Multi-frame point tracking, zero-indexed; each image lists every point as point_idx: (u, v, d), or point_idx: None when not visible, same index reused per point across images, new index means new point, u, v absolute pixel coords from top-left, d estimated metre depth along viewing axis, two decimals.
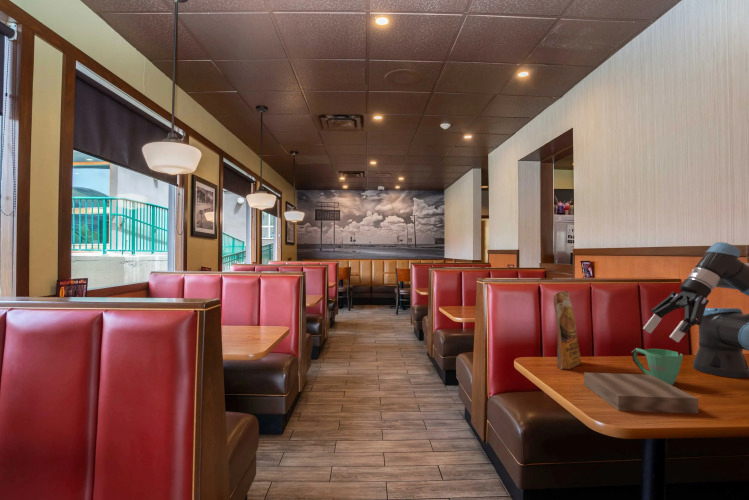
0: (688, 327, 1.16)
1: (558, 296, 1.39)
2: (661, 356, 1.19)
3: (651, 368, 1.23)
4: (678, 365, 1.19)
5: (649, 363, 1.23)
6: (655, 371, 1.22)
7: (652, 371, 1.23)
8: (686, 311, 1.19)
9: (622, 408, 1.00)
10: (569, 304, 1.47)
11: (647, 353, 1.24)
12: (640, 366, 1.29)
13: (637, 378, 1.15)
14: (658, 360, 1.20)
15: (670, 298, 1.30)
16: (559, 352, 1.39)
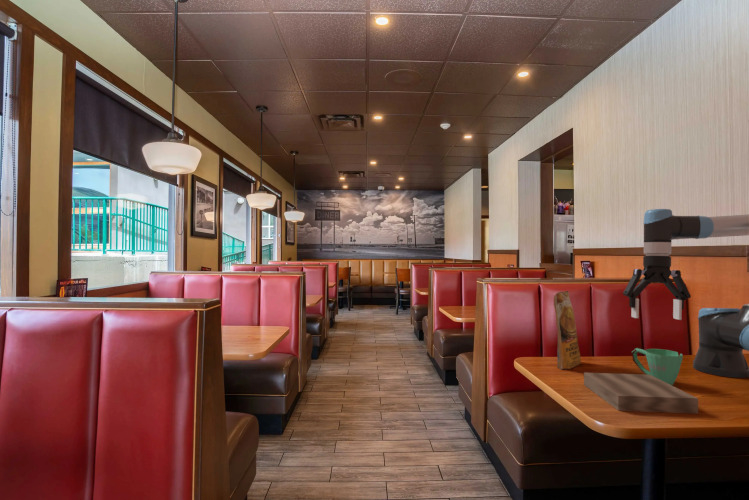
0: (630, 301, 1.26)
1: (558, 296, 1.39)
2: (661, 356, 1.19)
3: (651, 368, 1.23)
4: (678, 365, 1.19)
5: (649, 363, 1.23)
6: (655, 371, 1.22)
7: (652, 371, 1.23)
8: None
9: (622, 408, 1.00)
10: (569, 304, 1.47)
11: (647, 353, 1.24)
12: (640, 366, 1.29)
13: (637, 378, 1.15)
14: (658, 360, 1.20)
15: (673, 277, 1.26)
16: (559, 352, 1.39)
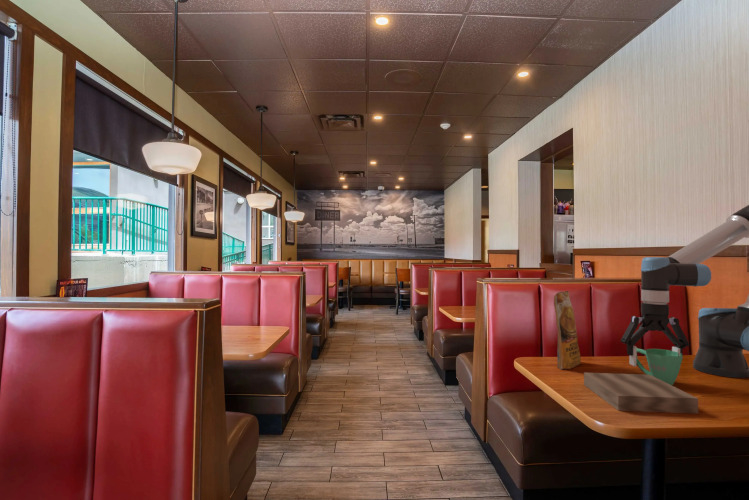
0: (628, 349, 1.26)
1: (558, 296, 1.39)
2: (661, 356, 1.19)
3: (651, 368, 1.23)
4: (678, 365, 1.19)
5: (649, 363, 1.23)
6: (655, 371, 1.22)
7: (652, 371, 1.23)
8: None
9: (622, 408, 1.00)
10: (569, 304, 1.47)
11: (647, 353, 1.24)
12: (640, 366, 1.29)
13: (637, 378, 1.15)
14: (658, 360, 1.20)
15: (671, 325, 1.26)
16: (559, 352, 1.39)
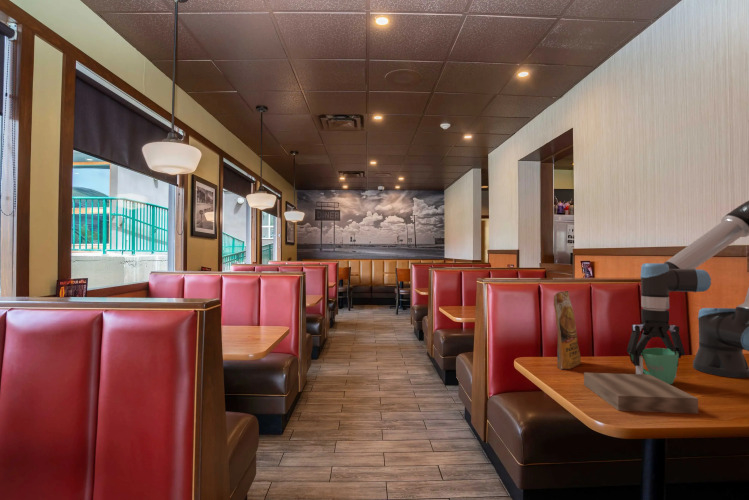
0: (634, 359, 1.25)
1: (558, 296, 1.39)
2: (657, 356, 1.20)
3: (649, 368, 1.23)
4: (675, 363, 1.19)
5: (647, 364, 1.24)
6: (654, 371, 1.22)
7: (651, 371, 1.23)
8: None
9: (622, 408, 1.00)
10: (569, 304, 1.47)
11: (643, 354, 1.24)
12: None
13: (637, 378, 1.15)
14: (654, 360, 1.20)
15: (671, 332, 1.25)
16: (559, 352, 1.39)
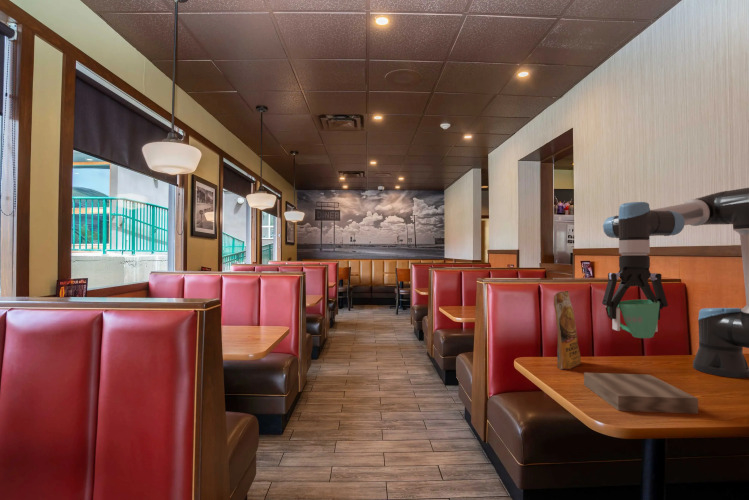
0: (611, 311, 1.11)
1: (558, 296, 1.39)
2: (635, 305, 1.05)
3: (627, 321, 1.08)
4: (655, 313, 1.04)
5: (624, 316, 1.09)
6: (631, 323, 1.07)
7: (628, 324, 1.08)
8: None
9: (622, 408, 1.00)
10: (569, 304, 1.47)
11: (620, 305, 1.09)
12: None
13: (637, 378, 1.15)
14: (632, 310, 1.06)
15: (652, 281, 1.11)
16: (559, 352, 1.39)
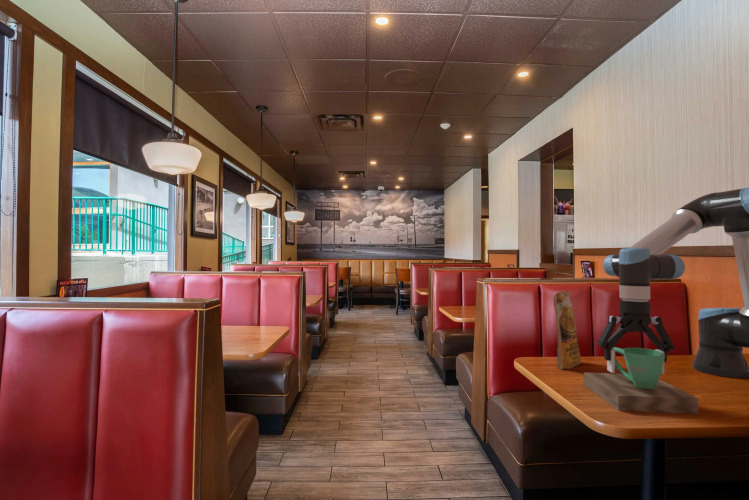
0: (605, 353, 1.10)
1: (558, 296, 1.39)
2: (640, 355, 1.04)
3: (629, 369, 1.08)
4: (659, 366, 1.04)
5: (627, 364, 1.08)
6: (634, 373, 1.07)
7: (631, 373, 1.08)
8: None
9: (622, 408, 1.00)
10: (569, 304, 1.47)
11: (625, 352, 1.09)
12: (618, 367, 1.14)
13: None
14: (636, 360, 1.05)
15: (654, 325, 1.10)
16: (559, 352, 1.39)
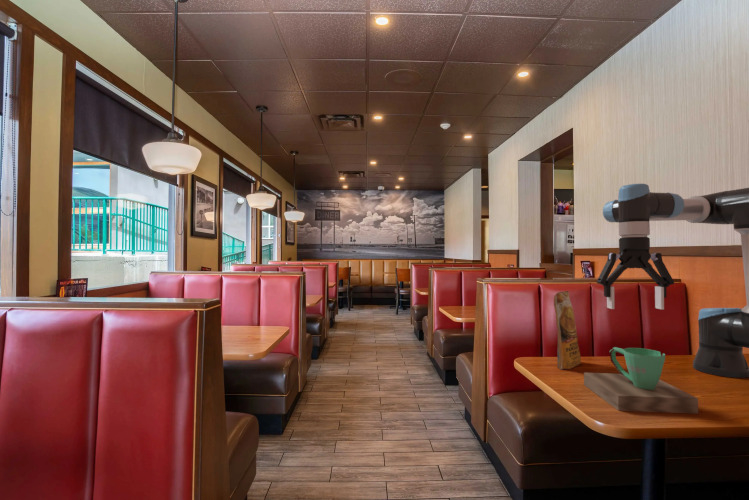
0: (605, 290, 1.11)
1: (558, 296, 1.39)
2: (640, 356, 1.04)
3: (630, 370, 1.08)
4: (660, 366, 1.04)
5: (627, 364, 1.08)
6: (634, 373, 1.07)
7: (631, 373, 1.08)
8: None
9: (622, 408, 1.00)
10: (569, 304, 1.47)
11: (625, 353, 1.08)
12: (618, 367, 1.14)
13: None
14: (637, 360, 1.05)
15: (653, 261, 1.10)
16: (559, 352, 1.39)
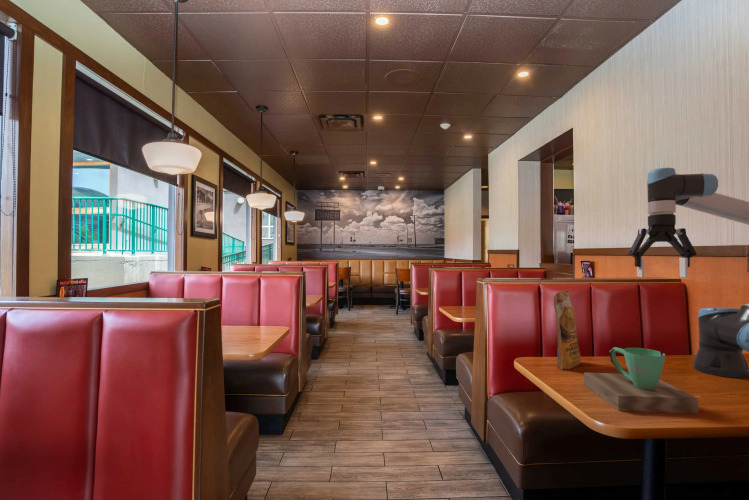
0: (636, 261, 1.27)
1: (558, 296, 1.39)
2: (640, 356, 1.04)
3: (630, 370, 1.08)
4: (660, 366, 1.04)
5: (627, 364, 1.08)
6: (634, 373, 1.07)
7: (631, 373, 1.08)
8: None
9: (622, 408, 1.00)
10: (569, 304, 1.47)
11: (625, 353, 1.08)
12: (618, 367, 1.14)
13: None
14: (637, 360, 1.05)
15: (678, 236, 1.27)
16: (559, 352, 1.39)
